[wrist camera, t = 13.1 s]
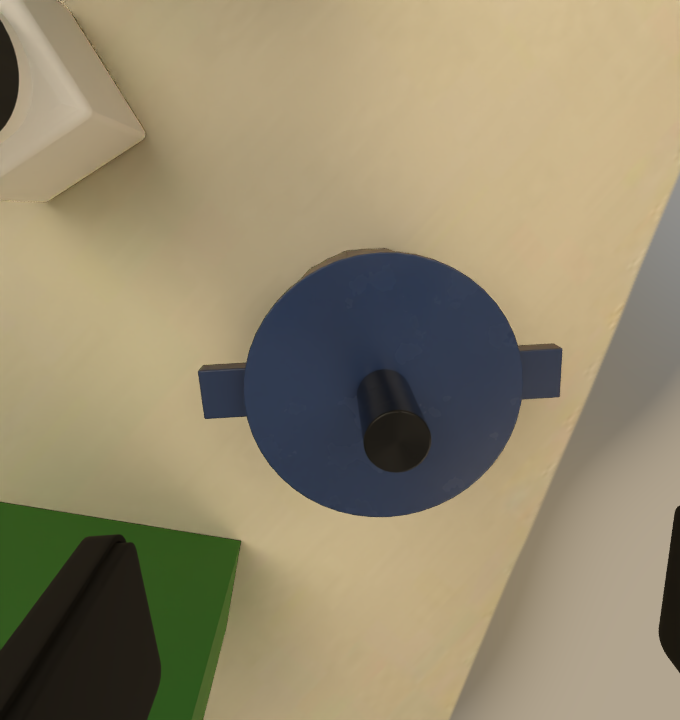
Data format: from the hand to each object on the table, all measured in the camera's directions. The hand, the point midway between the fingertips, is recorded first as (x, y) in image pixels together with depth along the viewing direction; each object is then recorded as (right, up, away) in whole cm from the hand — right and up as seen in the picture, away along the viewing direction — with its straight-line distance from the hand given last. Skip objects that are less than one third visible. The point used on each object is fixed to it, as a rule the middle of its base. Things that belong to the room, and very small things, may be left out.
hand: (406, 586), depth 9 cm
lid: (+1, +3, +14) cm, 15 cm away
